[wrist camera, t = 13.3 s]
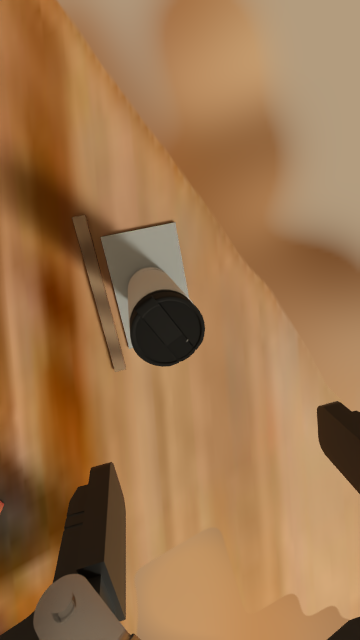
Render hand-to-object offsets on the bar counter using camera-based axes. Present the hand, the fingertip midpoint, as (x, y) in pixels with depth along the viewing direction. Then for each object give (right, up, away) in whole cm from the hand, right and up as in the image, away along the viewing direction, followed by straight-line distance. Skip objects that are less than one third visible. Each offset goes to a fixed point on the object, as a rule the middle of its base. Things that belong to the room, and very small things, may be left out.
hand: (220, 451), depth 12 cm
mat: (-6, +9, +32) cm, 34 cm away
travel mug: (-6, +9, +32) cm, 34 cm away
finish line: (-12, +8, +32) cm, 35 cm away
